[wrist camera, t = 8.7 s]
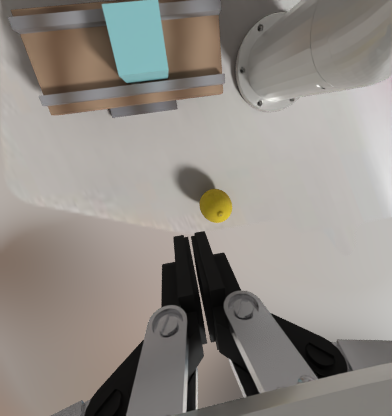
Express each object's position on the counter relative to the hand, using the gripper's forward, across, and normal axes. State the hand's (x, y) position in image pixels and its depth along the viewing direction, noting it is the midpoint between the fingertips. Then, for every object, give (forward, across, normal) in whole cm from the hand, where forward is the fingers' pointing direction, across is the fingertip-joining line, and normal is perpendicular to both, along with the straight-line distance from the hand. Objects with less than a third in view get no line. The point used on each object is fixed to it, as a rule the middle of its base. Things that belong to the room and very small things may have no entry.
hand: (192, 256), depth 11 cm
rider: (+21, +2, -14) cm, 25 cm away
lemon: (+27, -6, +8) cm, 29 cm away
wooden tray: (+27, +3, -14) cm, 31 cm away
